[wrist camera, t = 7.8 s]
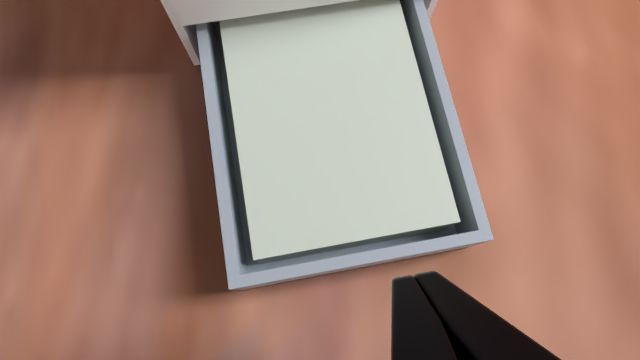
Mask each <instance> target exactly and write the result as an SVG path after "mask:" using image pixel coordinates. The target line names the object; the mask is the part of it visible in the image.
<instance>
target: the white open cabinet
mask: <svg viewBox="0 0 640 360" xmlns="http://www.w3.org/2000/svg"><path fill="white" fill-rule="evenodd" d="M160 1H161V3H162V5H163V7H164V8H165V10H166V12H167V14H168V16H169V18H170V20H171V22H172V24H173V26H174V28H175V30H176V32H177V34H178V35H179V37H180V39H181V41H182V43H183V45H184V47H185V49H186V51H187V53H188V55H189V57H190V59H191V61H192V63H193V64H194V66H195V65H201V63H200V55H199V47H198V39H197V31H196V24H200V23H207V22H214V21H221V20H227V19H234V18H241V17H248V16H255V15H261V14H268V13H275V12H282V11H289V10H295V9H302V8H309V7H316V6H323V5H329V4H336V3H343V2H350V1H357V0H160ZM423 1H424V4H425V7H426V11H427V14H428V18H429V21H430V19H431V16H432V14H433V12H434V9H435V7H436V5H437V2H438V0H423Z"/></svg>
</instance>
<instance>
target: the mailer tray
mask: <svg viewBox="0 0 640 360" xmlns="http://www.w3.org/2000/svg"><path fill="white" fill-rule="evenodd" d="M196 31H197V39H198V47H199V55H200V63H201V71H202V79H203V87H204V95H205V103H206V111H207V119H208V127H209V135H210V143H211V151H212V159H213V167H214V175H215V183H216V191H217V199H218V207H219V215H220V223H221V231H222V239H223V247H224V255H225V263H226V271H227V279H228V288H229V290H246V289H251V288H256V287H262V286H267V285H272V284H277V283H283V282H288V281H293V280H299V279H304V278H309V277H314V276H320V275H325V274H330V273H335V272H341V271H346V270H351V269H356V268H362V267H367V266H372V265H378V264H383V263H388V262H393V261H399V260H404V259H409V258H414V257H420V256H425V255H430V254H436V253H441V252H446V251H451V250H457V249H462V248H467V247H470V246H474V245H477V244H480V243H484V242H487V241H491V240H494V239H493V236H492V232H491V229H490V226H489V222H488V219H487V215H486V212H485V209H484V205H483V202H482V198H481V195H480V192H479V188H478V185H477V181H476V178H475V174H474V171H473V168H472V164H471V161H470V157H469V154H468V151H467V147H466V144H465V140H464V137H463V134H462V130H461V127H460V123H459V120H458V117H457V113H456V110H455V106H454V103H453V100H452V96H451V93H450V89H449V86H448V82H447V79H446V76H445V72H444V69H443V65H442V62H441V59H440V55H439V52H438V48H437V45H436V42H435V38H434V35H433V31H432V28H431V25H430V21H429V18H428V14H427V11H426V7H425V4H424V1H423V0H357V1H350V2H343V3H336V4H329V5H323V6H316V7H309V8H302V9H295V10H289V11H282V12H275V13H268V14H261V15H255V16H248V17H241V18H234V19H227V20H221V21H214V22H207V23H200V24H196Z"/></svg>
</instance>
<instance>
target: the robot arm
mask: <svg viewBox="0 0 640 360" xmlns="http://www.w3.org/2000/svg"><path fill="white" fill-rule="evenodd" d="M391 360H561V359H560V358H558V357H557V356H555V355H554V354H552V353H551V352H550V351H548V350H547V349H545V348H544V347H543V346H541V345H540V344H538V343H537V342H535V341H534V340H533V339H531V338H530V337H528V336H527V335H525V334H524V333H523V332H521V331H520V330H518V329H517V328H516V327H514V326H513V325H511V324H510V323H508V322H507V321H506V320H504V319H503V318H501V317H500V316H498V315H497V314H496V313H494V312H493V311H491V310H490V309H489V308H487V307H486V306H484V305H483V304H481V303H480V302H479V301H477V300H476V299H474V298H473V297H472V296H470V295H469V294H467V293H466V292H464V291H463V290H462V289H460V288H459V287H457V286H456V285H454V284H453V283H452V282H450V281H449V280H447V279H446V278H445V277H443V276H442V275H440V274H439V273H437V272H435V271H429V272H423V273H418V274H416V275H414V277H413V276H411V275H408V276H403V277H397V278H394V279H393V280H392V338H391Z"/></svg>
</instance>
